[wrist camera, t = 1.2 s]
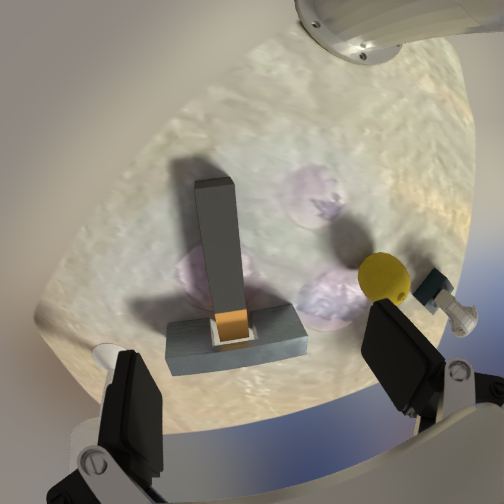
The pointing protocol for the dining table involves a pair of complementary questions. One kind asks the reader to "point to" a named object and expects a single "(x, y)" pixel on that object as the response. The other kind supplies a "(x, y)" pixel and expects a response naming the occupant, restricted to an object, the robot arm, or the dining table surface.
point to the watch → (446, 303)
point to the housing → (235, 354)
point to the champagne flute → (89, 429)
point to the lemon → (384, 278)
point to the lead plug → (222, 255)
